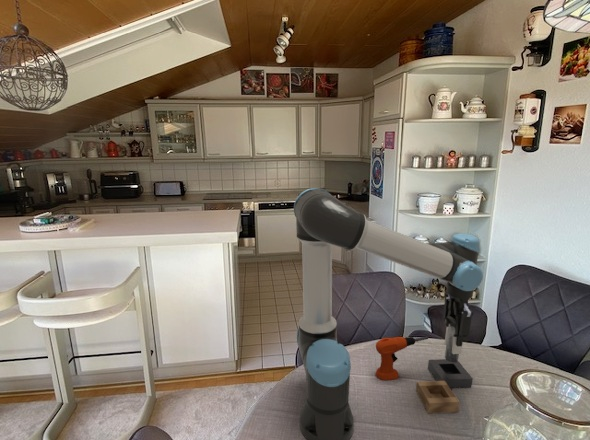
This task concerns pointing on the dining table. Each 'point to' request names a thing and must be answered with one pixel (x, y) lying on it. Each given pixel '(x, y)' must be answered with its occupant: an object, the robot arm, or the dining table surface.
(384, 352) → the toy drill
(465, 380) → the block
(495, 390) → the dining table surface
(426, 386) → the wooden square frame
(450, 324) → the dark grey tall piece
